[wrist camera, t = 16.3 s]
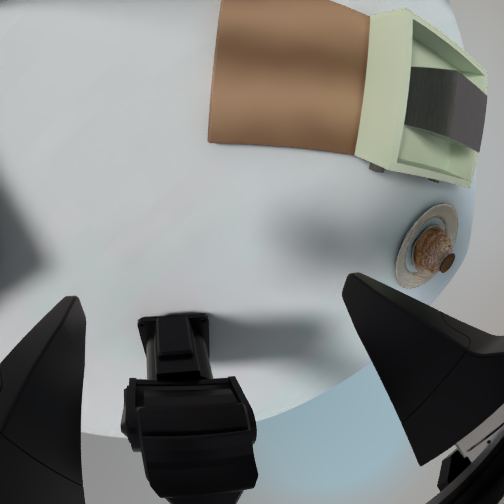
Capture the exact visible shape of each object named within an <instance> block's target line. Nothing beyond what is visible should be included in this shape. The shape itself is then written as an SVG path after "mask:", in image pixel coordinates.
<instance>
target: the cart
mask: <svg viewBox="0 0 504 504" xmlns="http://www.w3.org/2000/svg"><path fill="white" fill-rule="evenodd" d="M411 67H428V68H440V69H449V70H457V71H459V72H460V73H461V74H463V75H464V76H465V77H466V78H467V79H469V80H470V81H471V82H472V83H473V84H475V85H476V86H477V87H478V88H479V89H480V90H481V91H482V92H484V93H485V94H486V92H487V72H486V71H485V70H484V69H483V68H482V67H481V66H480V65H479V64H478V63H477V62H476V61H475V60H474V59H473V58H472V57H471V56H470V55H469V54H467V53H466V52H465V51H464V50H463V49H462V48H461V47H459V46H458V45H457V44H456V43H455V42H453V41H452V40H451V39H450V38H449V37H447V36H446V35H445V34H443V33H442V32H441V31H439V30H438V29H437V28H435V27H434V26H433V25H431V24H430V23H428V22H427V21H426V20H424V19H423V18H421V17H420V16H418V15H417V14H415V13H414V12H412V11H410V10H409V9H407V8H404V9H398V10H392V11H387V12H382V13H378V14H374V15H370V32H369V47H368V60H367V70H366V80H365V88H364V96H363V104H362V111H361V118H360V125H359V131H358V137H357V143H356V149H355V155H354V156H357V157H359V158H362V159H364V160H367V161H369V162H370V166H369V169H371V170H374V171H377V172H381V173H383V172H384V168H385V169H387V170H390V171H396V172H401V173H406V174H412V175H417V176H421V177H426V178H428V179H429V180H431V181H433V182H436V183H438V182H439V180H440V181H444V182H448V183H452V184H456V185H460V186H464V187H468V188H470V186H471V182H472V178H473V174H474V170H475V166H476V161H477V157H478V152H476V151H474V150H471V149H469V148H466V147H463V146H461V145H458V144H455V143H453V142H450V141H447V140H444V139H441V138H438V137H435V136H433V135H430V134H428V133H425V132H423V131H420V130H418V129H415V128H412V127H410V126H407V125H404V121H405V114H406V107H407V99H408V91H409V82H410V71H411Z"/></svg>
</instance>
